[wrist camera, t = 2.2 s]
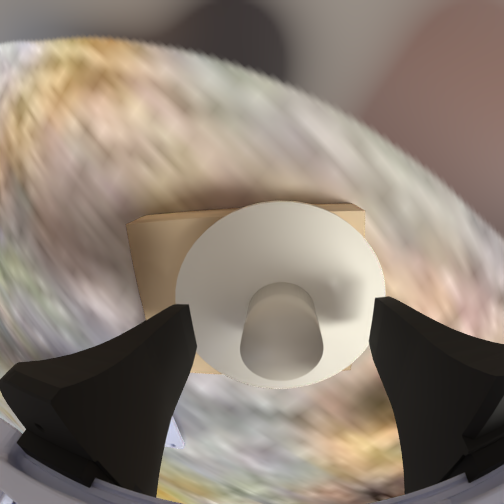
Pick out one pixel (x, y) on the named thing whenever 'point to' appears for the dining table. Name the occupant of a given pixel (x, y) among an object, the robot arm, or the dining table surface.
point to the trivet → (176, 248)
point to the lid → (280, 294)
